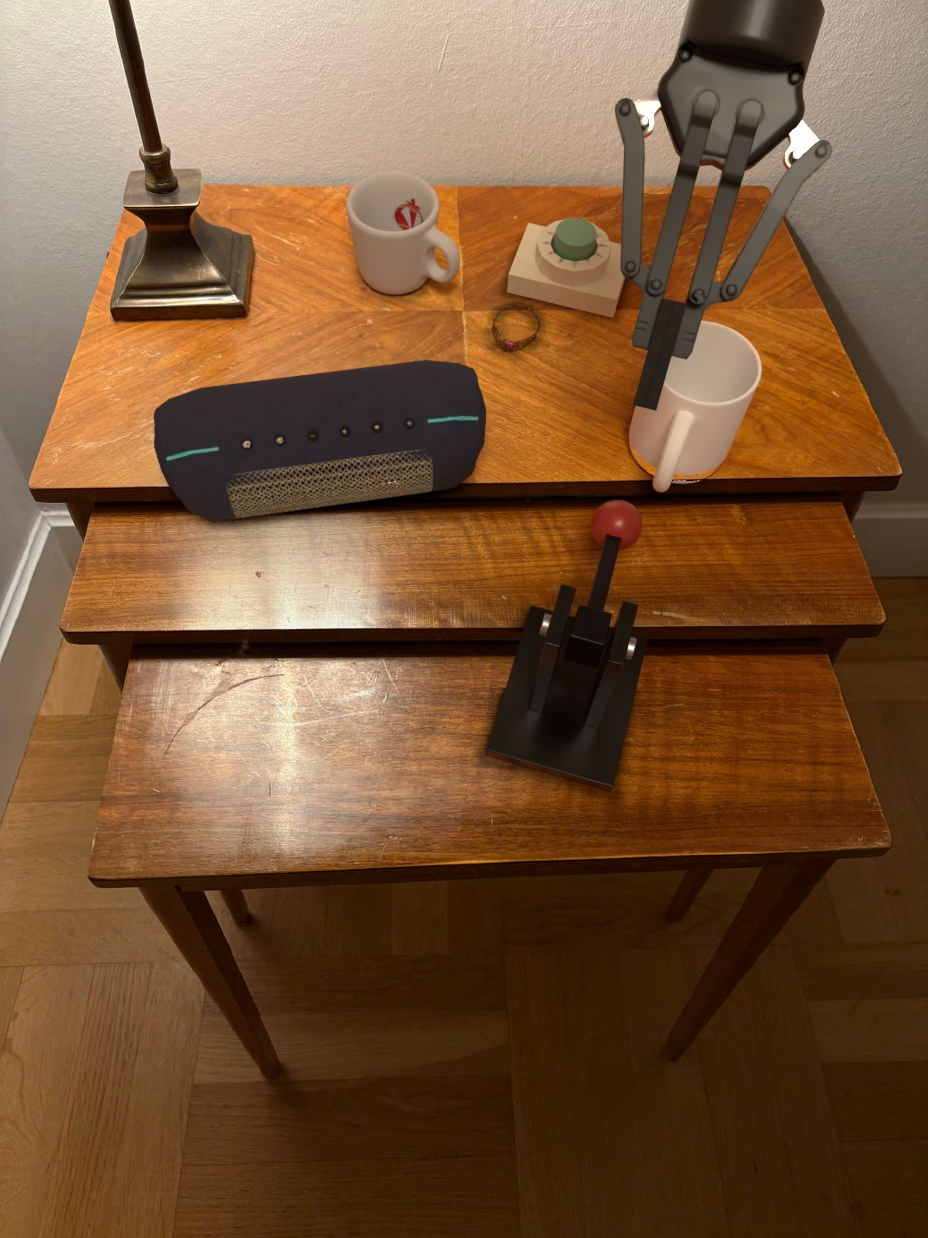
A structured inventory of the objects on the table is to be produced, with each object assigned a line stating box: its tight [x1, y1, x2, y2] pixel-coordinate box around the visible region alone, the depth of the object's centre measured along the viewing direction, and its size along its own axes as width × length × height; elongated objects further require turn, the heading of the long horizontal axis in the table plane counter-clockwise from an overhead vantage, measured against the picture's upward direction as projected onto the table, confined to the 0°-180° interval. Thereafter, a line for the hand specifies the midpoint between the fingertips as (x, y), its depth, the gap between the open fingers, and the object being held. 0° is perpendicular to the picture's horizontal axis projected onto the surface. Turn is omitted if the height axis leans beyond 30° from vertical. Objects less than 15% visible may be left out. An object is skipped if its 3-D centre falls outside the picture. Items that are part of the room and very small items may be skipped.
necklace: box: [491, 304, 541, 354], centre depth 87 cm, size 4×6×1 cm, turn 166°
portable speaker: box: [153, 359, 487, 522], centre depth 75 cm, size 25×10×10 cm, turn 101°
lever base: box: [485, 583, 649, 793], centre depth 66 cm, size 12×9×12 cm
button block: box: [506, 219, 626, 319], centre depth 89 cm, size 10×7×4 cm
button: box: [554, 217, 597, 262], centre depth 87 cm, size 4×4×2 cm
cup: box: [345, 171, 461, 296], centre depth 86 cm, size 11×8×8 cm
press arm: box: [564, 499, 643, 668], centre depth 66 cm, size 14×4×4 cm, turn 163°
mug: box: [628, 320, 763, 493], centre depth 76 cm, size 12×8×10 cm
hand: (644, 406), depth 62 cm, fingers closed
